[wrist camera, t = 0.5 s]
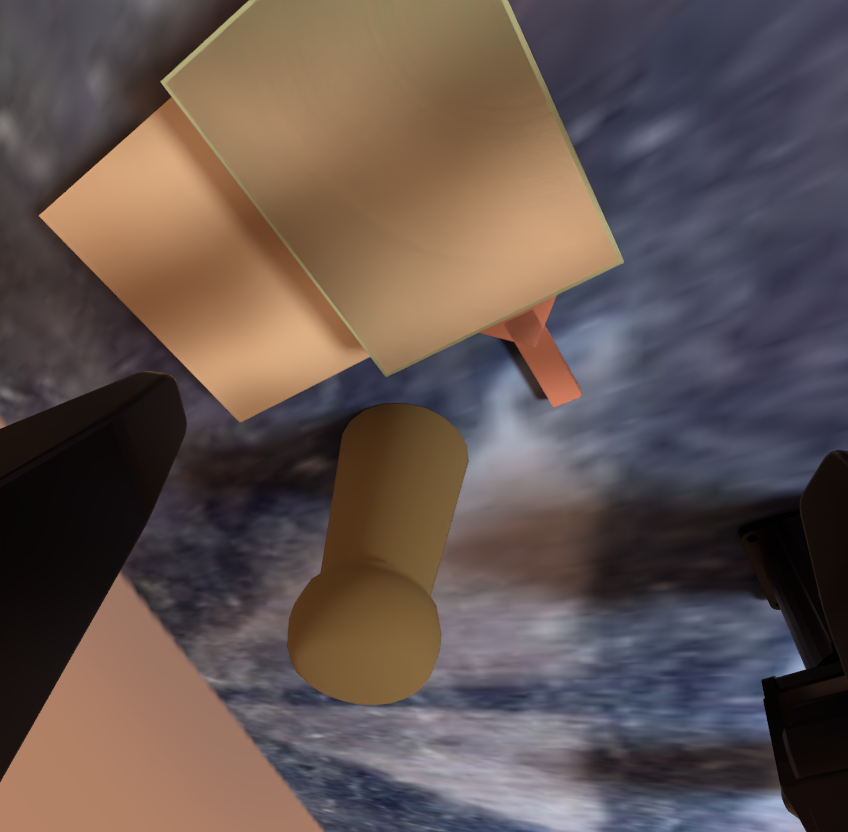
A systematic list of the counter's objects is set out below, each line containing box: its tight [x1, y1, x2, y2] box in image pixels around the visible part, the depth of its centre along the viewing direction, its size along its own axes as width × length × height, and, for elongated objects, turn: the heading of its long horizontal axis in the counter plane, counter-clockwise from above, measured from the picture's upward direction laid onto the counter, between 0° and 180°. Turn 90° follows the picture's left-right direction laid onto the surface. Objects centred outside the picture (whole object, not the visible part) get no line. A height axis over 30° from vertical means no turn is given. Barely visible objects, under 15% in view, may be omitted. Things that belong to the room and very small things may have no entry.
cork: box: [287, 403, 468, 705], centre depth 23 cm, size 6×6×11 cm
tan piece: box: [39, 0, 624, 422], centre depth 20 cm, size 16×16×4 cm
